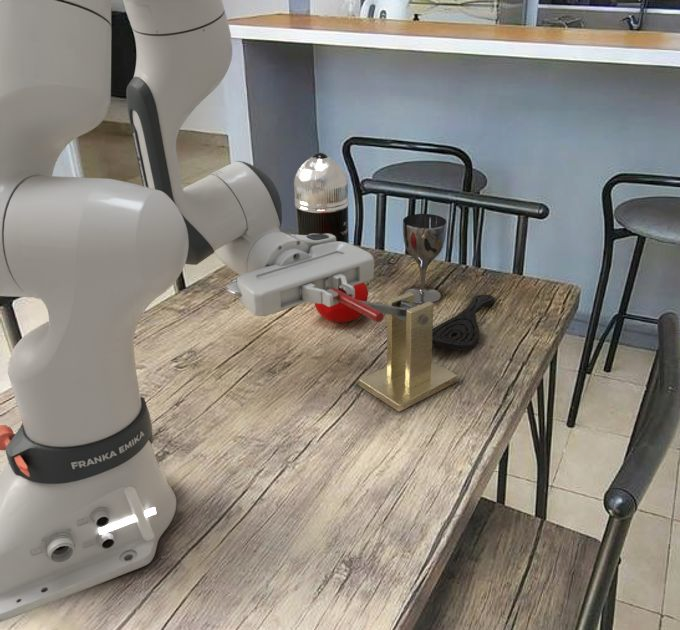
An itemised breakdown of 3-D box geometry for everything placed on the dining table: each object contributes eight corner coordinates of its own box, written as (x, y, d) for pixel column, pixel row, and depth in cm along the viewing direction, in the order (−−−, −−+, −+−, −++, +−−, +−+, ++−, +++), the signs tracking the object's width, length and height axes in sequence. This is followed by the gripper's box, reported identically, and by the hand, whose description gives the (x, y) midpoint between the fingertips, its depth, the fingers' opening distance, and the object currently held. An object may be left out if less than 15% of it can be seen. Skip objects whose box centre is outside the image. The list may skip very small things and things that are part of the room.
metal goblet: (395, 290, 132) (396, 216, 125) (431, 284, 135) (434, 211, 128) (411, 307, 126) (413, 230, 119) (450, 300, 129) (454, 225, 122)
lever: (373, 326, 85) (379, 308, 85) (325, 299, 92) (330, 282, 91) (438, 334, 95) (444, 318, 95) (391, 310, 102) (396, 295, 101)
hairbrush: (511, 289, 127) (461, 342, 106) (509, 307, 129) (460, 362, 108) (470, 281, 130) (413, 330, 109) (468, 298, 132) (412, 350, 111)
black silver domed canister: (354, 268, 141) (352, 147, 130) (344, 289, 132) (341, 161, 120) (305, 265, 142) (299, 144, 130) (292, 285, 133) (284, 158, 121)
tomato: (311, 329, 117) (308, 284, 113) (320, 302, 126) (318, 261, 122) (365, 331, 117) (364, 286, 113) (370, 304, 126) (370, 263, 122)
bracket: (399, 412, 96) (400, 326, 90) (358, 386, 102) (357, 303, 96) (457, 381, 104) (462, 300, 97) (417, 358, 109) (419, 280, 103)
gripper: (217, 264, 91) (274, 298, 83) (338, 230, 104) (399, 257, 95) (222, 306, 94) (277, 343, 86) (339, 268, 107) (398, 297, 98)
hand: (342, 297), depth 91 cm, fingers closed on lever
